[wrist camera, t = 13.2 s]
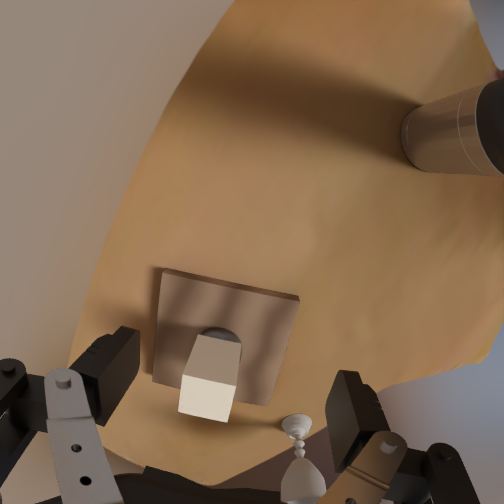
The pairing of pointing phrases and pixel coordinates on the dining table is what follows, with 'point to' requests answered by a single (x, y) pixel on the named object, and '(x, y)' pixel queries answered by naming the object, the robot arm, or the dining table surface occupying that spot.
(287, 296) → the walnut block
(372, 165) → the dining table surface
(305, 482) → the chalice
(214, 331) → the dark grey cylinder
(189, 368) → the cream rectangular block
